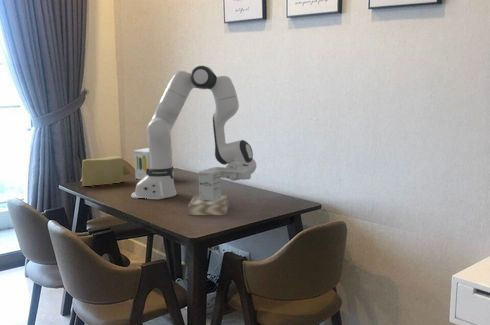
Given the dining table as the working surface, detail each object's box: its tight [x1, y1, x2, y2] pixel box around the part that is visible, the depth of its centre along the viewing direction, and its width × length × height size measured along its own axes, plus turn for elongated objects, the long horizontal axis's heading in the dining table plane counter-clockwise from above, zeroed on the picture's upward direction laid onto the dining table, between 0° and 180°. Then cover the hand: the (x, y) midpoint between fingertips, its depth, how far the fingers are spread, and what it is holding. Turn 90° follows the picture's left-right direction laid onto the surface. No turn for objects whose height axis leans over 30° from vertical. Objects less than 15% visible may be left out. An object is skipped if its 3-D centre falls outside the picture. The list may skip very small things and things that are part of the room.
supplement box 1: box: [133, 147, 150, 179], centre depth 293 cm, size 13×13×18 cm
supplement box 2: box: [198, 168, 222, 201], centre depth 223 cm, size 7×7×13 cm
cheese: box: [81, 155, 125, 187], centre depth 282 cm, size 22×10×15 cm, turn 126°
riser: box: [187, 194, 230, 216], centre depth 224 cm, size 16×16×5 cm
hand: (219, 176), depth 230 cm, fingers open, 8 cm apart
